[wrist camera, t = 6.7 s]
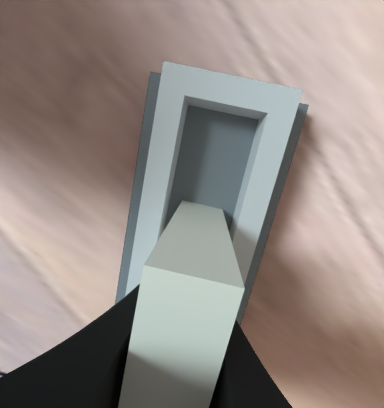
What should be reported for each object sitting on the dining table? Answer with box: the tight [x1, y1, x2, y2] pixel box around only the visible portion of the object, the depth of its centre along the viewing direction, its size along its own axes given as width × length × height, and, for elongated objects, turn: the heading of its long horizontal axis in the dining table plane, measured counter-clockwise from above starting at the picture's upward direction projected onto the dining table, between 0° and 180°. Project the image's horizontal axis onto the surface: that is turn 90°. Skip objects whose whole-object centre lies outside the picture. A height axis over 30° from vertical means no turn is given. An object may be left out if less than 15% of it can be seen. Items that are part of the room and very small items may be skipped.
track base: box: [115, 61, 309, 325], centre depth 11 cm, size 18×7×2 cm, turn 168°
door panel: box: [118, 200, 245, 408], centre depth 8 cm, size 8×2×6 cm, turn 168°
